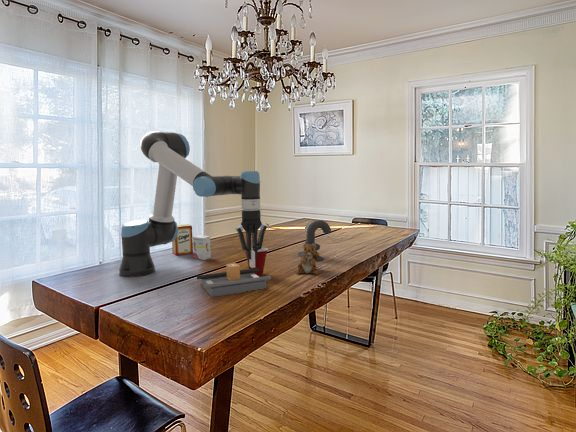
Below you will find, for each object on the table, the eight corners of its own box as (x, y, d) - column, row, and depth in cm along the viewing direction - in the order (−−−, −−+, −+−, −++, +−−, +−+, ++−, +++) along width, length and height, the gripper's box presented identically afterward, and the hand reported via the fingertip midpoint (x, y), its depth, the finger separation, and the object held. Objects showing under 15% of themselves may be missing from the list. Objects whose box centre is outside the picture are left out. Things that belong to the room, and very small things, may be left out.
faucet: (337, 260, 197) (338, 222, 194) (309, 262, 192) (309, 223, 189) (324, 252, 214) (324, 217, 211) (297, 254, 209) (297, 218, 207)
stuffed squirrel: (295, 274, 170) (295, 246, 168) (299, 266, 184) (300, 240, 182) (317, 275, 168) (317, 246, 167) (320, 267, 182) (320, 240, 180)
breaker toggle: (230, 281, 149) (230, 266, 149) (226, 277, 154) (226, 263, 153) (240, 279, 151) (239, 265, 150) (236, 276, 155) (235, 262, 155)
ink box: (192, 258, 201) (192, 236, 200) (199, 256, 205) (199, 234, 204) (204, 260, 197) (203, 237, 195) (211, 258, 201) (210, 236, 199)
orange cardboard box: (176, 255, 207) (174, 226, 205) (172, 253, 212) (171, 225, 210) (192, 253, 212) (191, 225, 210) (189, 251, 217) (188, 223, 215)
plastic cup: (268, 270, 176) (268, 245, 175) (268, 277, 166) (268, 250, 164) (245, 271, 176) (244, 245, 175) (243, 277, 165) (242, 250, 164)
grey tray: (205, 289, 140) (205, 285, 140) (196, 279, 153) (196, 275, 153) (271, 280, 152) (271, 276, 152) (258, 271, 165) (258, 267, 165)
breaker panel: (211, 297, 141) (211, 288, 140) (201, 285, 155) (201, 277, 155) (266, 288, 150) (266, 280, 150) (252, 278, 165) (251, 271, 164)
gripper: (238, 211, 146) (240, 270, 149) (269, 209, 152) (270, 266, 155) (232, 209, 153) (234, 266, 156) (262, 207, 158) (263, 262, 161)
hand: (252, 266), depth 155 cm, fingers closed
